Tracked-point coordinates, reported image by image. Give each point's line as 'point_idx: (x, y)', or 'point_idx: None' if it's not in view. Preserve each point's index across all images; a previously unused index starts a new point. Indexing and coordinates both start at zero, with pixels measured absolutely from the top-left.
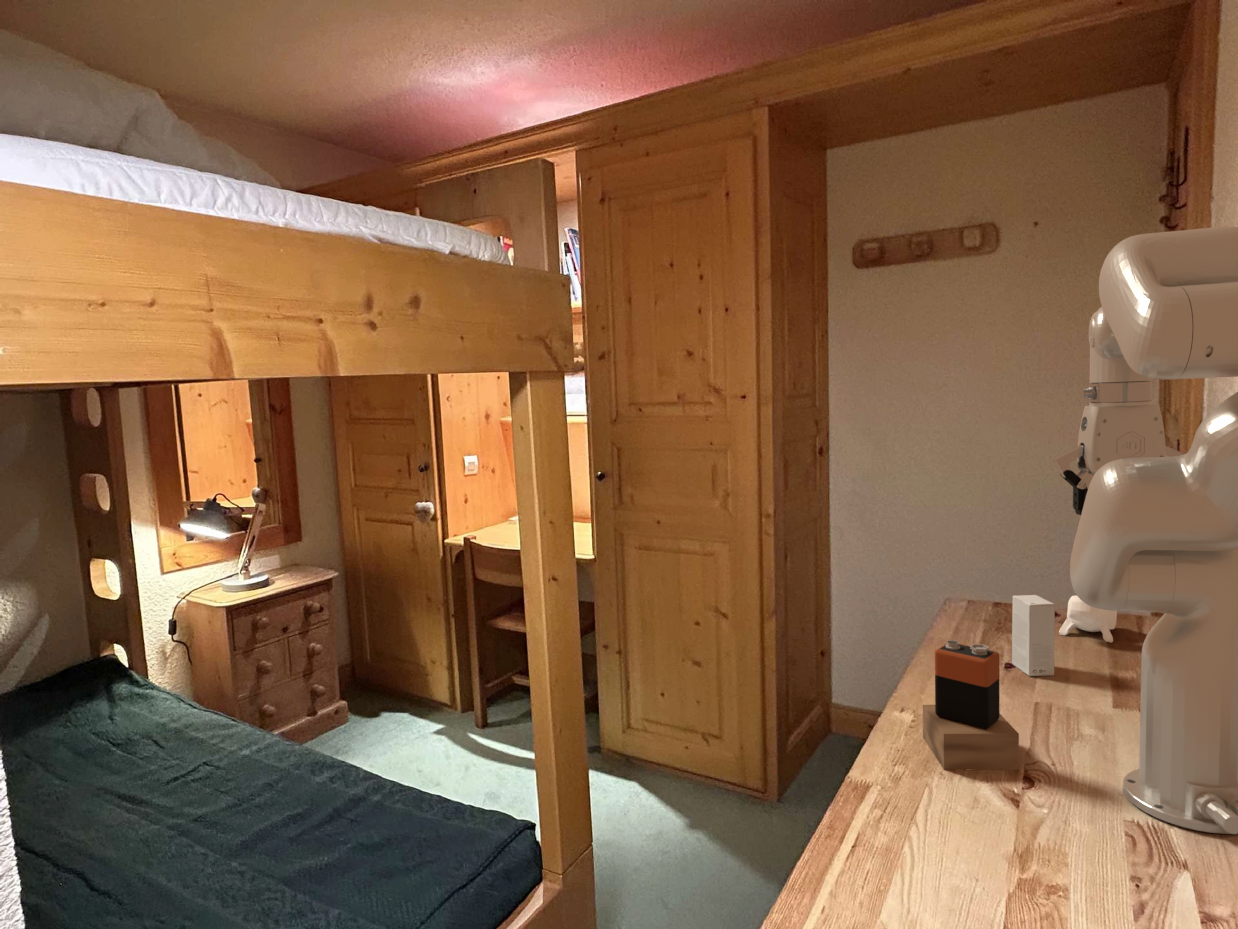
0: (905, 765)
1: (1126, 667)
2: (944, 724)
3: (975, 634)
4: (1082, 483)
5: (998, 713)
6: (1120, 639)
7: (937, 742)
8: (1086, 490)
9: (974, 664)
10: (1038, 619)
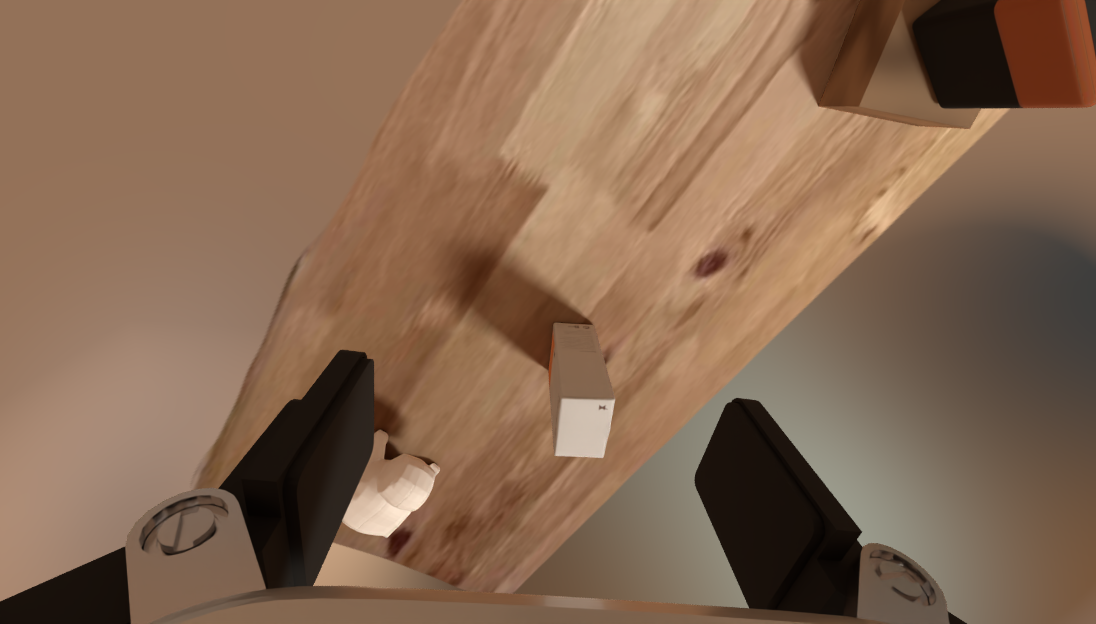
0: None
1: (418, 337)
2: None
3: (562, 483)
4: (910, 591)
5: (931, 12)
6: None
7: None
8: (852, 524)
9: None
10: (592, 378)
